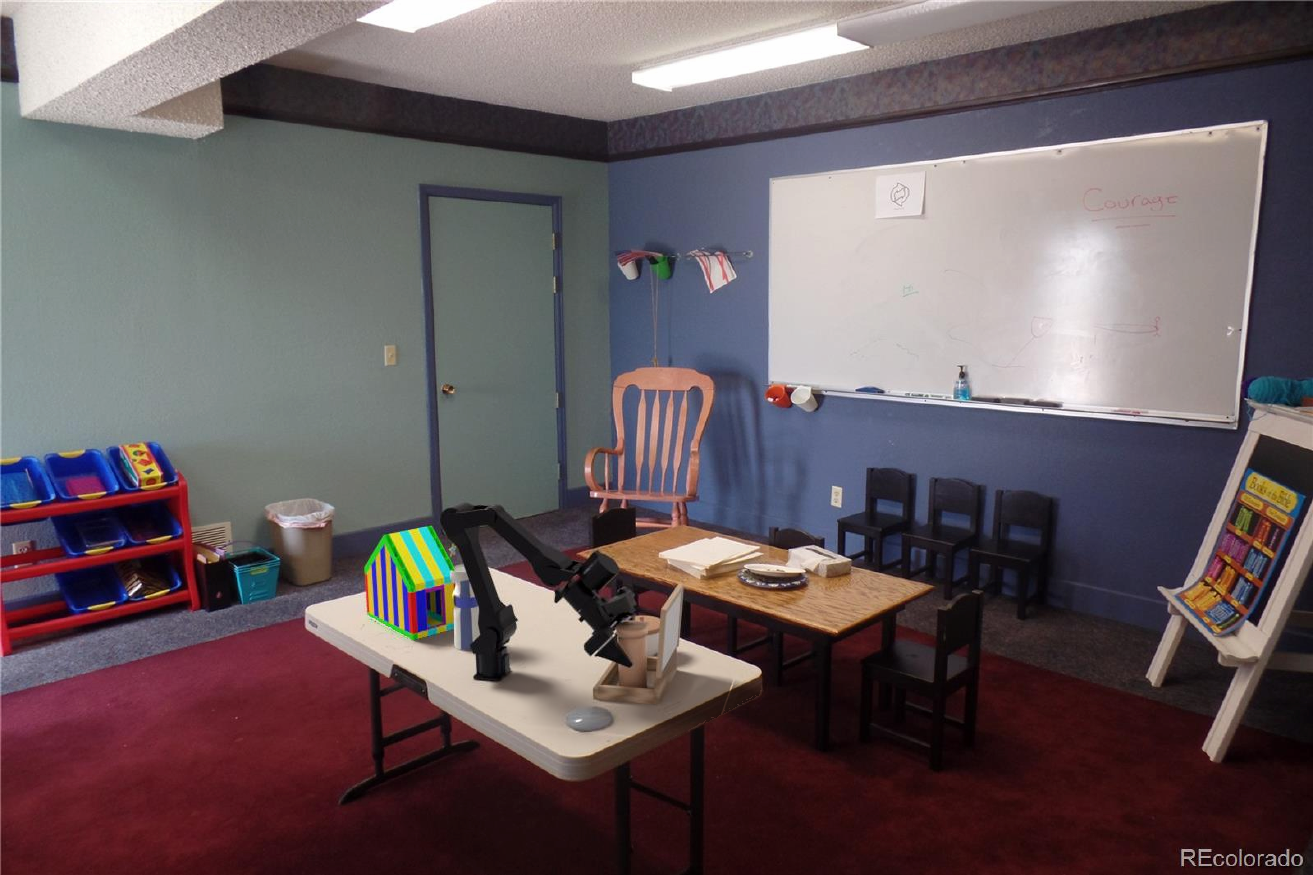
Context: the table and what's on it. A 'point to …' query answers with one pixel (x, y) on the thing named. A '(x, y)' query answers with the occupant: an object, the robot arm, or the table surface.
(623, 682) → the tan cylindrical canister
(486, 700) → the table surface
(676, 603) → the lid
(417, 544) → the toy house
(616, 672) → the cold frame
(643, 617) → the lidded jar
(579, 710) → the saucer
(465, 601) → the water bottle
